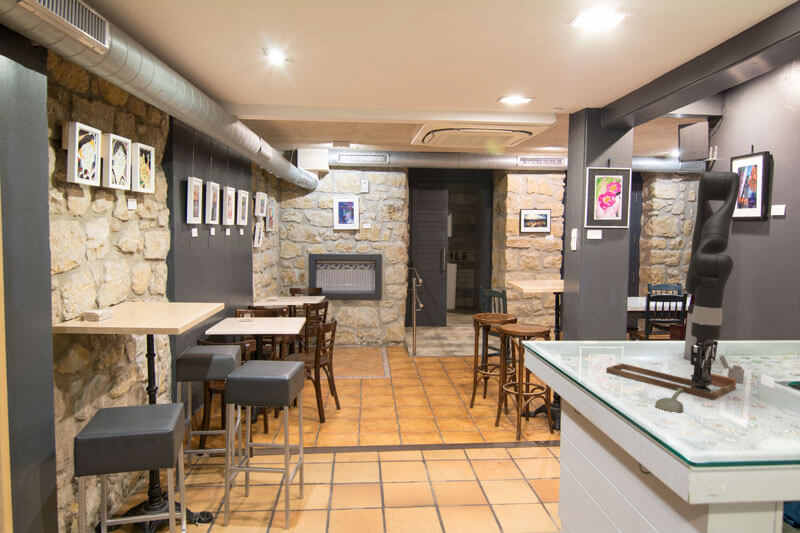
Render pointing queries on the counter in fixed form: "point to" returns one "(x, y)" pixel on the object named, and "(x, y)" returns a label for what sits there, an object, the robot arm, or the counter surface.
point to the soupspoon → (670, 403)
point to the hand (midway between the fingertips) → (701, 377)
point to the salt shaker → (703, 378)
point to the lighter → (733, 370)
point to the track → (675, 380)
